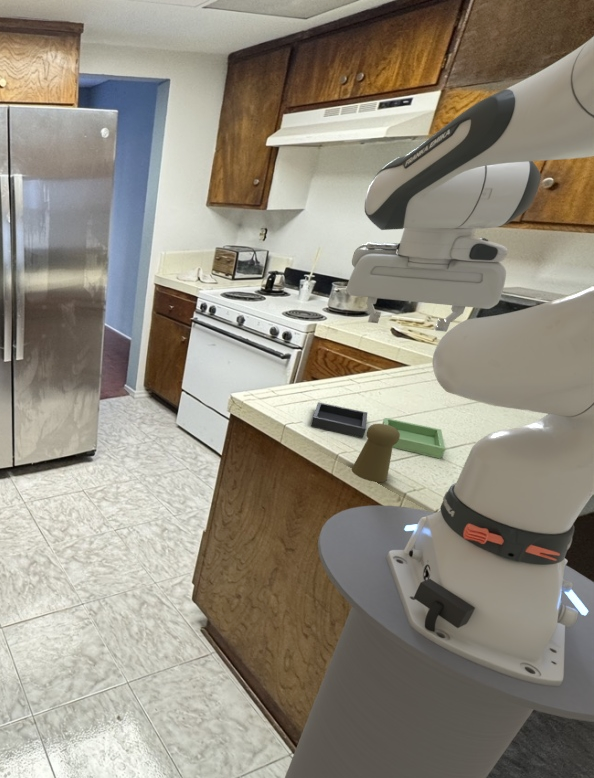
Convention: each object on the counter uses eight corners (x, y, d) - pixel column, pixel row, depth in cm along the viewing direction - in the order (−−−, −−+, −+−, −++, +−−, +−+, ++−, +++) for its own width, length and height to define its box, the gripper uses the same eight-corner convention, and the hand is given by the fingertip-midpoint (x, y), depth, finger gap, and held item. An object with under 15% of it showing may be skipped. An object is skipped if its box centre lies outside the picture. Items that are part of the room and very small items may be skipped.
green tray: (440, 458, 101) (445, 448, 100) (380, 444, 107) (383, 434, 106) (437, 438, 109) (441, 429, 108) (381, 426, 115) (384, 417, 114)
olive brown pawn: (379, 467, 99) (396, 421, 94) (392, 484, 93) (411, 436, 89) (346, 463, 100) (361, 418, 96) (357, 479, 95) (374, 432, 90)
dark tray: (362, 438, 110) (365, 429, 109) (310, 426, 116) (313, 417, 115) (364, 421, 117) (367, 412, 116) (315, 410, 123) (318, 402, 122)
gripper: (356, 243, 80) (334, 321, 86) (522, 251, 69) (485, 340, 75) (358, 239, 85) (337, 314, 91) (514, 246, 74) (480, 331, 79)
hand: (405, 326), depth 83 cm, fingers open, 8 cm apart
